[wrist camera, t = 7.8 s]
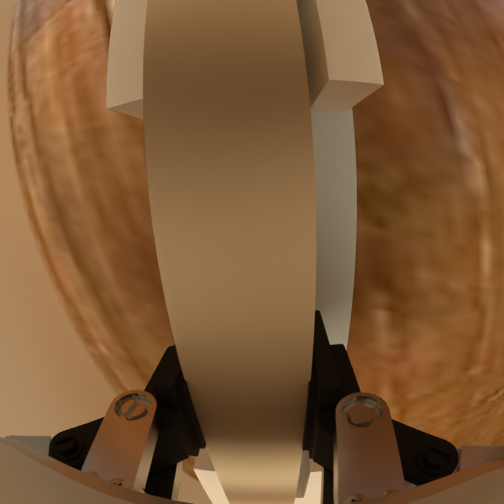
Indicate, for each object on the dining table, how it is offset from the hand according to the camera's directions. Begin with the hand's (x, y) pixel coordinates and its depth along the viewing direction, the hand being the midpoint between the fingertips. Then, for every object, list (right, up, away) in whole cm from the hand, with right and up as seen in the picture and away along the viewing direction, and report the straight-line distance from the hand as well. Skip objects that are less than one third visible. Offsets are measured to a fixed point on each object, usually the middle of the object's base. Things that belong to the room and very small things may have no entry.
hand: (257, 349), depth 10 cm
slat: (0, +1, +3) cm, 3 cm away
